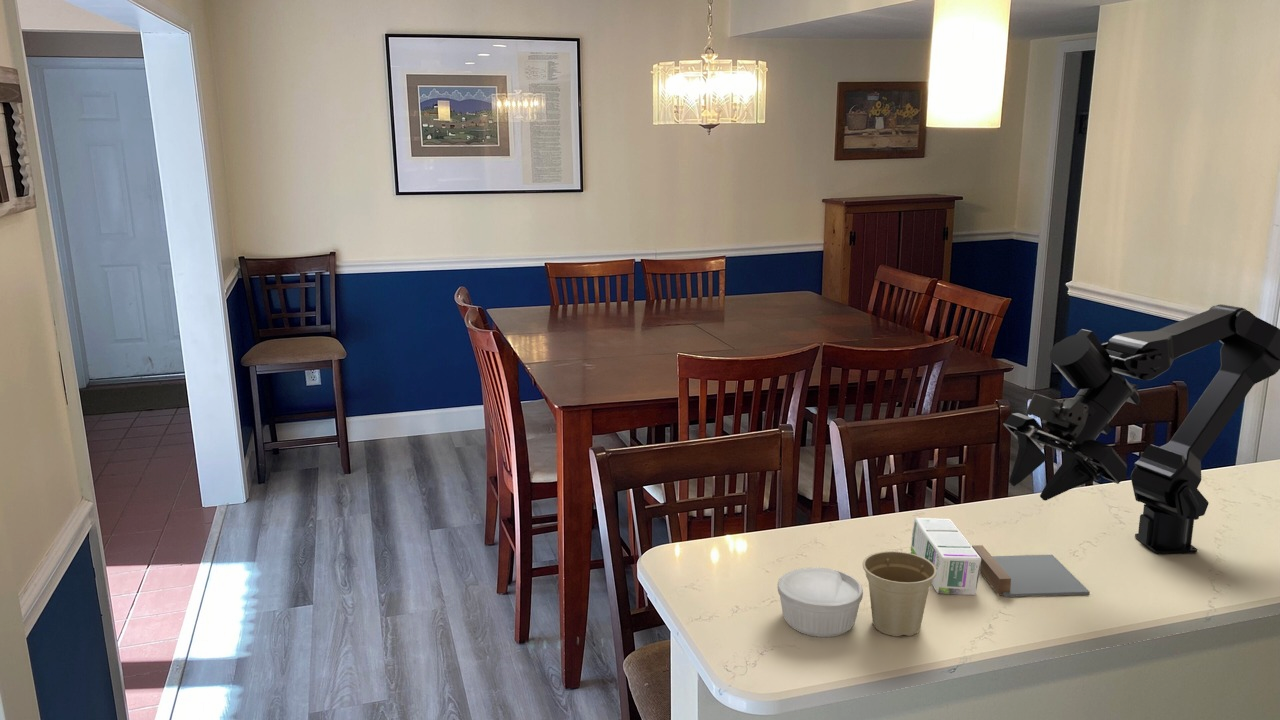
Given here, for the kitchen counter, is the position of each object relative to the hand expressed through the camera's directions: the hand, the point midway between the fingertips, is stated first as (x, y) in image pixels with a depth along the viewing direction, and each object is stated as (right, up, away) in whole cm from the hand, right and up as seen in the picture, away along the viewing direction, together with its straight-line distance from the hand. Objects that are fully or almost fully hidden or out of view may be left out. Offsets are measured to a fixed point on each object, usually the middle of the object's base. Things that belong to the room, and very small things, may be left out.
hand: (1026, 491), depth 131 cm
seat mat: (+2, -13, +3) cm, 14 cm away
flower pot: (-21, -17, -9) cm, 28 cm away
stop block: (-4, -13, +3) cm, 14 cm away
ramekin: (-31, -17, -7) cm, 36 cm away
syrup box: (-10, -8, +12) cm, 18 cm away
